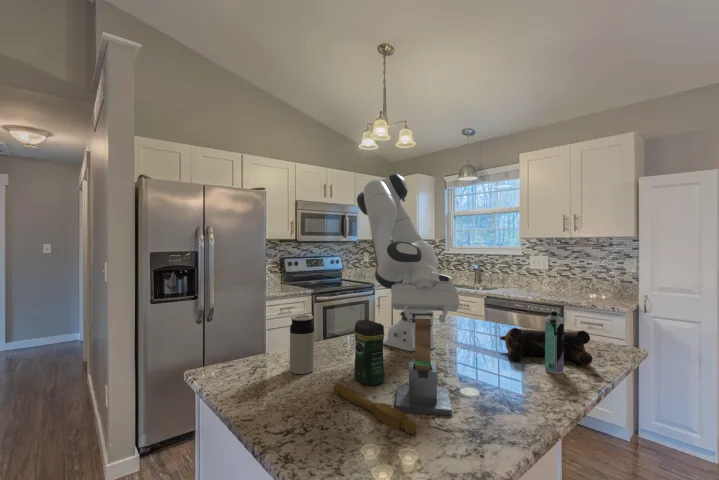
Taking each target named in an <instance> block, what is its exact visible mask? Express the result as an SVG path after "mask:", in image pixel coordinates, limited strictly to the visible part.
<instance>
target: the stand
mask: <svg viewBox="0 0 719 480" xmlns="http://www.w3.org/2000/svg"><path fill="white" fill-rule="evenodd" d="M437 369H438V368H437V365H436V362H431V366H430V370H420V369H415V361H408V370H409V371H408V384H397V387H396V397H395V407H394V408H395V409H397V410H399V411H401V412H403V413H405V414H408V413H409V414H420V415H421V414H422V415H424V414H425V415H437V416H450V417H452V415H453V412H452V411H453V410H452V405H451V401H450V398H449V393H448V389H447V388H448V387H447V386H438V370H437Z"/></svg>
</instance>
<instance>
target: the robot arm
mask: <svg viewBox="0 0 719 480" xmlns="http://www.w3.org/2000/svg"><path fill="white" fill-rule="evenodd" d="M408 192H409V190H408V184H407V181H406V179H404V177H403V176H401V175H400V174H399V173H393V174H390V175H389V176H387V177H385V178H382V179H381V180H378V179H374V180H371V181H369V182H367V183H366V185H365V186H364V189H363V191H361V192H359V194H358V195H357V198H356V204H357V207H358V209H359V211H361V213H363V215H364V216H365V215H366V216H367V218H368V222H369V226H370V227H369V228H370V233H371V239H372V241H371V242H372V246H373V251H374V256H375V261H376V269H375V272H374V276H375V277H374V278H375V280H376V281H377V283H378V284H379V285H381V287H383V288H386V289H388V290H389V289H390V290H391V294H392V297H391V307H392V309H394V310H397V311H398V310H399V311H401V312H400V313H399V316H400V317H401V319H399V320H398V321H397V322H395V323H394V324H392V325H391V326H390V327H389V328H388V332H387V336H386V337H384V339H383V345H387V346H390V347H393V348H396V349H401V350H405V351H408V352H413V351H414V352H415V315H423V316H430V318H431V350H433V349H435V348H436V347H437V344H436V341H435V340H436V339H435V335H434V312H438V311H439V312H442V314H439V318H438V320H439V323H442V324H443V323H446V317H447V315H448V312H457V311H458V310H459V309H460V297H459V293H458V290H457V287H456V286H454V281H453V280H454V279H453V277H451V276H447V275H445V274H442V273H441V274H440V273H439V272H437V270H438V267H439V259H438V257H437V256H436V252H435V250H434V247H433V246H432V245H431V243H430V242H427V241H425V240H424V239H423V238H422V236H421V235H420V234H419V232H418V230H417V228H416V225H415V223H414V221H413V219H412V217H411V216H410V213H409V212H408V210H407V209H406V207H405V205H404V204H403V203H405V201H406V200H405V199H406V197H407V196H408ZM401 200H402V201H401ZM402 202H403V203H402ZM391 240H392V242H391ZM402 310H403V311H402Z"/></svg>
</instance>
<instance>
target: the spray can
mask: <svg viewBox="0 0 719 480" xmlns="http://www.w3.org/2000/svg"><path fill="white" fill-rule="evenodd" d="M544 321H545V323H544V325H545V326H544V327H545V328H544V330H545V356H544V369H545V372H548V373H550V374H556V375H561V374H564V371H565V370H564V368H565V366H564V362H565V361H564V360H565V359H564V331H565V330H564V327H565V325H564V324H565V322H564V318H562V317H561V316H560V315H559V314H558V311H556V310H553V311H551V312H550V314H549V315H548V316H547V317H545V320H544Z"/></svg>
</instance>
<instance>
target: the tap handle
mask: <svg viewBox="0 0 719 480" xmlns="http://www.w3.org/2000/svg"><path fill="white" fill-rule="evenodd" d="M332 390H333V393H334V394H336V395H338V396H340V397H341V398H343V399H345V400H347V401H348V402H349V401H350V402H351V403H353V404H356V405H357V406H360V407H362V408H364V409H366V410H368V411H370V412H371V414H373V416H374V418H375V419H376V420H379V421H381V422H382V423H384V424H385V425H387V426H389V427H391V428H392V429H395V430H396V431H404V432H406V433H407V434H408V435H413V434H415V433H416V431H417V428H418V427H417V423H416V422H415V421H413V420H409V419H408V416H407V415H408V414H407V413H405V412H401V411H399V410H397V409H395V407H393V406H391V405H389V404H387V403H385V402H382V403H378V402H373V401H372V400H370V399H369V398H367V397H365V396H363V395H361V394H360V393H359V392H356V391H355V390H353V389H351V388H349V387H347V386H344V384H341V383H339V382H337V383H335V384H334V385H333V389H332Z"/></svg>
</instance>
